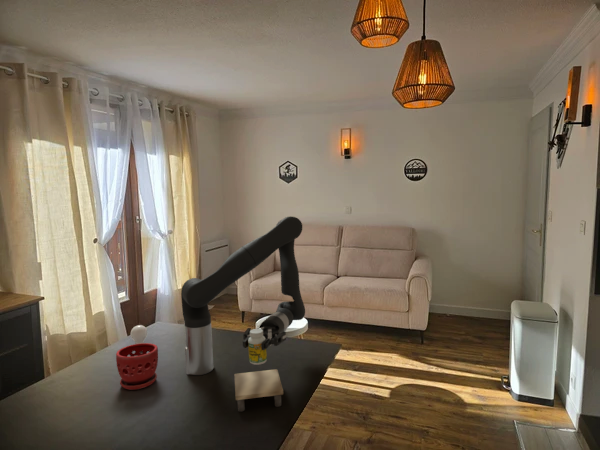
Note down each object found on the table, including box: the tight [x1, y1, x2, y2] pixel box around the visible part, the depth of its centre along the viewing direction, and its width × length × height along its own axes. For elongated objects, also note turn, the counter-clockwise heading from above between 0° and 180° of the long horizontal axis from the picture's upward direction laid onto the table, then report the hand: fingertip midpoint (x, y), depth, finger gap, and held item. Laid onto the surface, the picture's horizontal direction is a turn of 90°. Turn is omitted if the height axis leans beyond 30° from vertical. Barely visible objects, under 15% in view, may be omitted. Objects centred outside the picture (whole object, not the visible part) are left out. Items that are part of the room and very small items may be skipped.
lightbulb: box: [130, 324, 148, 353], centre depth 161 cm, size 6×6×11 cm
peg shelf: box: [234, 368, 284, 412], centre depth 124 cm, size 14×14×5 cm
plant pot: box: [115, 342, 159, 391], centre depth 135 cm, size 13×13×12 cm
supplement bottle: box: [247, 328, 268, 366], centre depth 123 cm, size 6×6×10 cm
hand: (253, 345), depth 121 cm, fingers closed on supplement bottle, 5 cm apart
